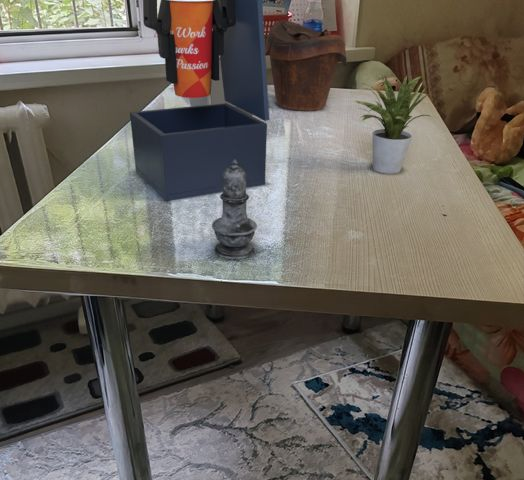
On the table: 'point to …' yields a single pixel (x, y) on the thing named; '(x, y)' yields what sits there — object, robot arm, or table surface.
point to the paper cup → (192, 46)
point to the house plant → (392, 125)
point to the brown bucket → (303, 64)
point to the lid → (246, 60)
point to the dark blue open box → (197, 148)
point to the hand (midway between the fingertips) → (193, 80)
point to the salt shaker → (234, 217)
